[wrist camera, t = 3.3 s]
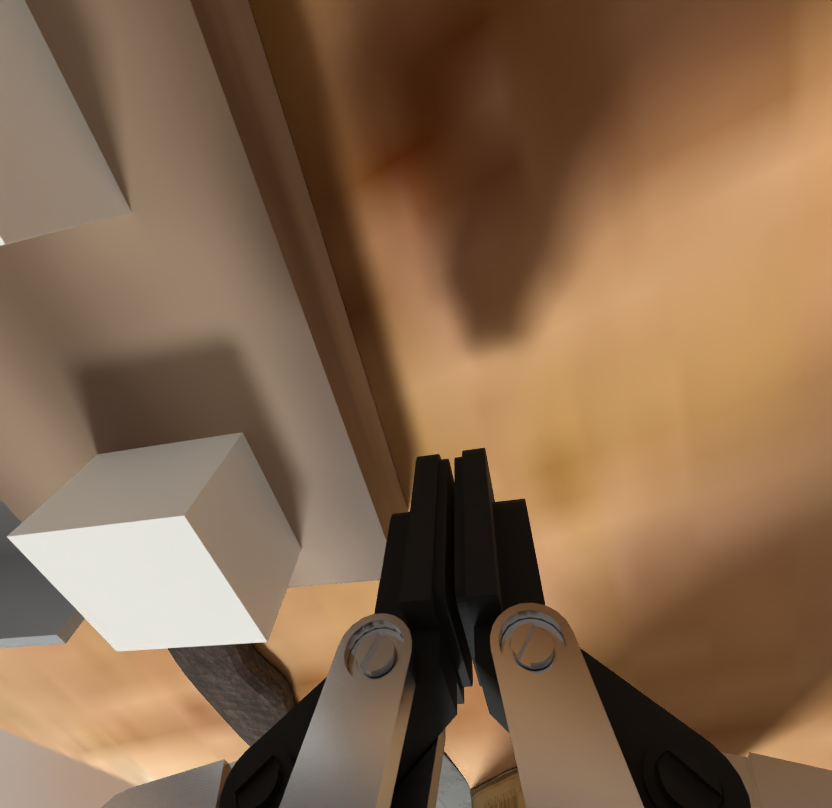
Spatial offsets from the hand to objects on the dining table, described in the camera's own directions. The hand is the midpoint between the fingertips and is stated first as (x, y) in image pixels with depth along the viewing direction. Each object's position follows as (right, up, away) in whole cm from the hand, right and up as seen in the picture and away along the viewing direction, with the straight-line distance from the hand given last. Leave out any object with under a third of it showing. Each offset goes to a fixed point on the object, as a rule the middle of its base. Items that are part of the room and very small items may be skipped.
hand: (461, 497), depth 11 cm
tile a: (-7, -1, +2) cm, 8 cm away
